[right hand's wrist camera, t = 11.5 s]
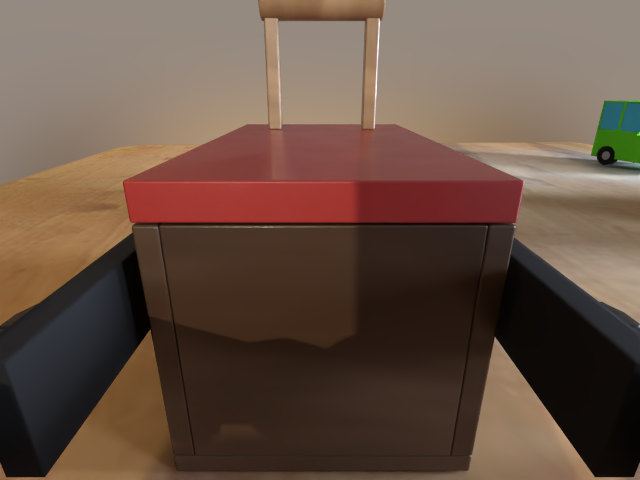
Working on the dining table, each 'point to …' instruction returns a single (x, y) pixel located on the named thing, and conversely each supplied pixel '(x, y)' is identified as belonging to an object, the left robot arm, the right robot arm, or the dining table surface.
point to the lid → (322, 160)
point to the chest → (323, 341)
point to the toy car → (618, 133)
